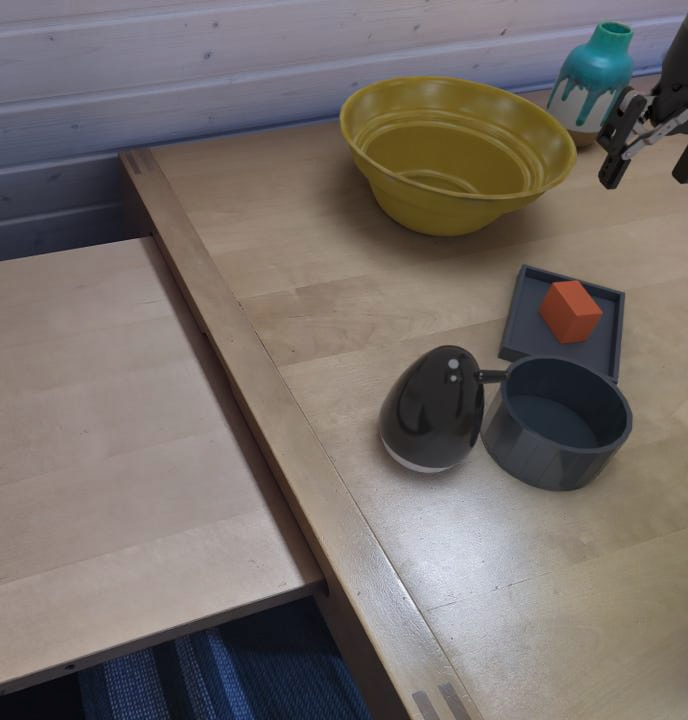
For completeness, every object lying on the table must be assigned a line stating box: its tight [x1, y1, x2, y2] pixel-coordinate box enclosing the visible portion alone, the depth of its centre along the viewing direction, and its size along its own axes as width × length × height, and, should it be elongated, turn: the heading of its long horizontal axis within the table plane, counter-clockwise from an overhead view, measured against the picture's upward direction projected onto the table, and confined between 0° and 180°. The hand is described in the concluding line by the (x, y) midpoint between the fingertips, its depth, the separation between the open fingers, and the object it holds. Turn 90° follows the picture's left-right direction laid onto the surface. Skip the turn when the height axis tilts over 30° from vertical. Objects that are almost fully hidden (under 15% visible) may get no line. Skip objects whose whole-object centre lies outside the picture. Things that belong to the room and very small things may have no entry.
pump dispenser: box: [377, 344, 510, 474], centre depth 73 cm, size 10×10×15 cm
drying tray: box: [497, 263, 626, 386], centre depth 91 cm, size 17×13×2 cm
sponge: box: [538, 279, 603, 344], centre depth 89 cm, size 4×6×5 cm, turn 10°
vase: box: [544, 19, 635, 148], centre depth 116 cm, size 11×11×19 cm
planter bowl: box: [338, 75, 578, 237], centre depth 103 cm, size 32×32×13 cm
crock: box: [480, 355, 634, 492], centre depth 77 cm, size 13×13×7 cm
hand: (643, 182), depth 75 cm, fingers open, 8 cm apart
